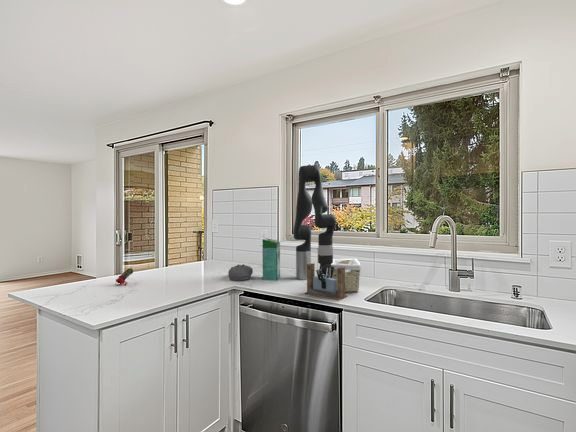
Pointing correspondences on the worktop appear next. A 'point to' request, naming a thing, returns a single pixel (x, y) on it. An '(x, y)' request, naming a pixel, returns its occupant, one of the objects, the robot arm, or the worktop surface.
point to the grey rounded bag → (240, 272)
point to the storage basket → (348, 273)
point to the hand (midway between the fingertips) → (325, 287)
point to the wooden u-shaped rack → (331, 295)
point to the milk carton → (271, 259)
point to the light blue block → (330, 284)
